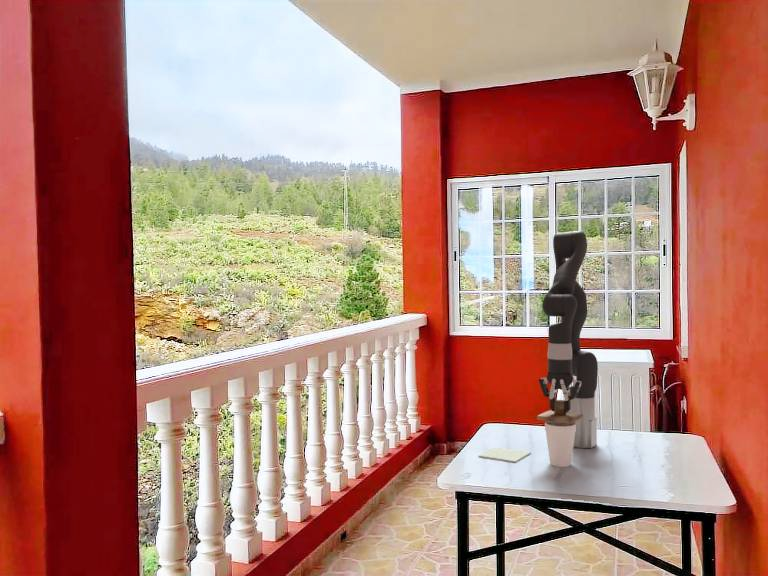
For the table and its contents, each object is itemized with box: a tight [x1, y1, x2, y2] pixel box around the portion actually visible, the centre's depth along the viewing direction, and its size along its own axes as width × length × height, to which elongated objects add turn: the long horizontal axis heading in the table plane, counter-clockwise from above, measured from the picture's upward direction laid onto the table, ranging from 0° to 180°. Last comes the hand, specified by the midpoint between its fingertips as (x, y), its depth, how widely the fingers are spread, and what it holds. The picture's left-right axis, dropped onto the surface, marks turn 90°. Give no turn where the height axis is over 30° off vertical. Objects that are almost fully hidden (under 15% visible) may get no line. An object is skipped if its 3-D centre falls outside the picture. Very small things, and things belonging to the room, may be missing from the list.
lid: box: [536, 399, 583, 424], centre depth 210 cm, size 11×11×6 cm
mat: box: [478, 446, 531, 464], centre depth 221 cm, size 13×13×1 cm
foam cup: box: [544, 421, 576, 468], centre depth 210 cm, size 10×9×13 cm
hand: (560, 411), depth 210 cm, fingers closed on lid, 3 cm apart
